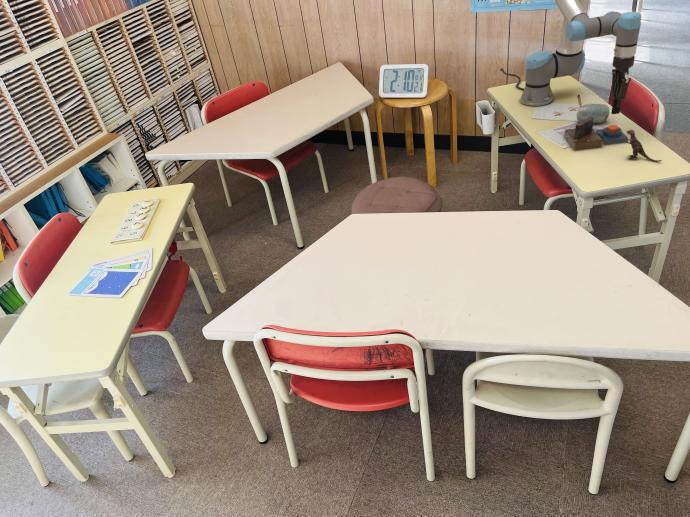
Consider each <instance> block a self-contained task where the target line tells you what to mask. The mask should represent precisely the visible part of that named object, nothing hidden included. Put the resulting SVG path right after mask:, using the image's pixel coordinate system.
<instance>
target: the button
mask: <svg viewBox="0 0 690 517" xmlns="http://www.w3.org/2000/svg"><path fill="white" fill-rule="evenodd" d="M607 127H608V129H607V131H609V132H617V131H618V127H619V126H618V125H617V124H609V125H608V126H607Z"/></svg>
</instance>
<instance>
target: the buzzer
mask: <svg viewBox="0 0 690 517" xmlns="http://www.w3.org/2000/svg"><path fill="white" fill-rule="evenodd" d="M607 129H608V126H606V127H604V128H600V129H596V130H595V132H596V133H597V132H601V133H597V134H598V135H599V136H600V138H601V139H602V144H603V145H605V146H609V145H610V146H611V145H616V144H617V145H619V144H624V143H625V144H627V142H629V140H627V139H629V137H628V135H626V134H625V133H624V131H622V130H623V129H622V128H621V127H619V126H618V131H617V132H609V131H607ZM626 141H627V142H626Z"/></svg>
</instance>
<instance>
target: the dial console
mask: <svg viewBox="0 0 690 517" xmlns="http://www.w3.org/2000/svg"><path fill="white" fill-rule="evenodd" d="M597 133H601V132H597ZM597 133H596V130H595V129H594V127H593V128H592V131H591V132H589V133H588V134H586V135H584V136H583V137H581V138H580V139H575V138H574V136H575V127H573V128H566V129H564V135H563V138H564V139H565V140H566V141H567V143H568V144H569V146H570V147H571V148H572V150H573V151H574V152H575V151H583V150H585V151H586V150H593V149H600V148H602V146H603V142H602V139H601V138H600V136H599V135H598V134H597Z"/></svg>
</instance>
